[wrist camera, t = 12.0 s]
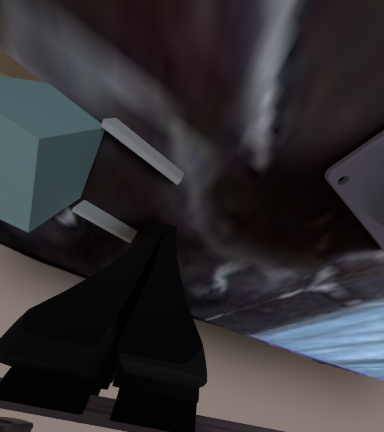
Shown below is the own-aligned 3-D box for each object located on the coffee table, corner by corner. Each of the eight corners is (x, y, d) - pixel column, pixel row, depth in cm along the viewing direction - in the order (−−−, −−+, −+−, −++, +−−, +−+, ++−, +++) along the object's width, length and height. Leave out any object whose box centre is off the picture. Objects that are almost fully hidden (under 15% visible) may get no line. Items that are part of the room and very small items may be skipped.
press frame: (192, 163, 9) (181, 192, 6) (132, 238, 14) (108, 277, 11) (-166, -141, 5) (-922, -642, 2) (-80, 117, 9) (-231, 121, 6)
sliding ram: (106, 127, 8) (39, 139, 5) (80, 197, 11) (28, 232, 8) (49, 83, 7) (-76, 63, 4) (38, 172, 11) (-40, 200, 7)
